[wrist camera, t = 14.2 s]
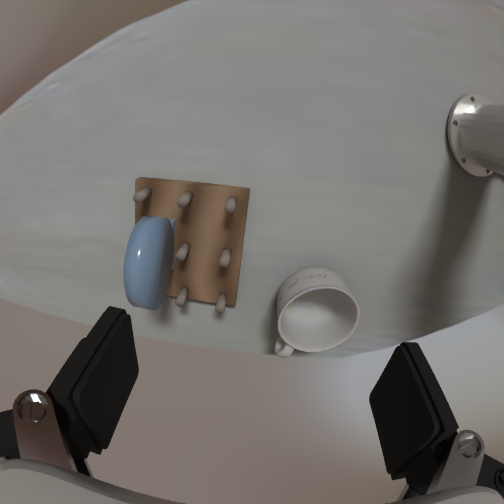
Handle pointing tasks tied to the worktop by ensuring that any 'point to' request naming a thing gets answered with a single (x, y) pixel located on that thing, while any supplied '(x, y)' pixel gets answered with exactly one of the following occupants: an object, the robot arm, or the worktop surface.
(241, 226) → the dish rack
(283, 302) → the teacup
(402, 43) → the worktop surface
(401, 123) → the worktop surface
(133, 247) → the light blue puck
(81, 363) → the robot arm
